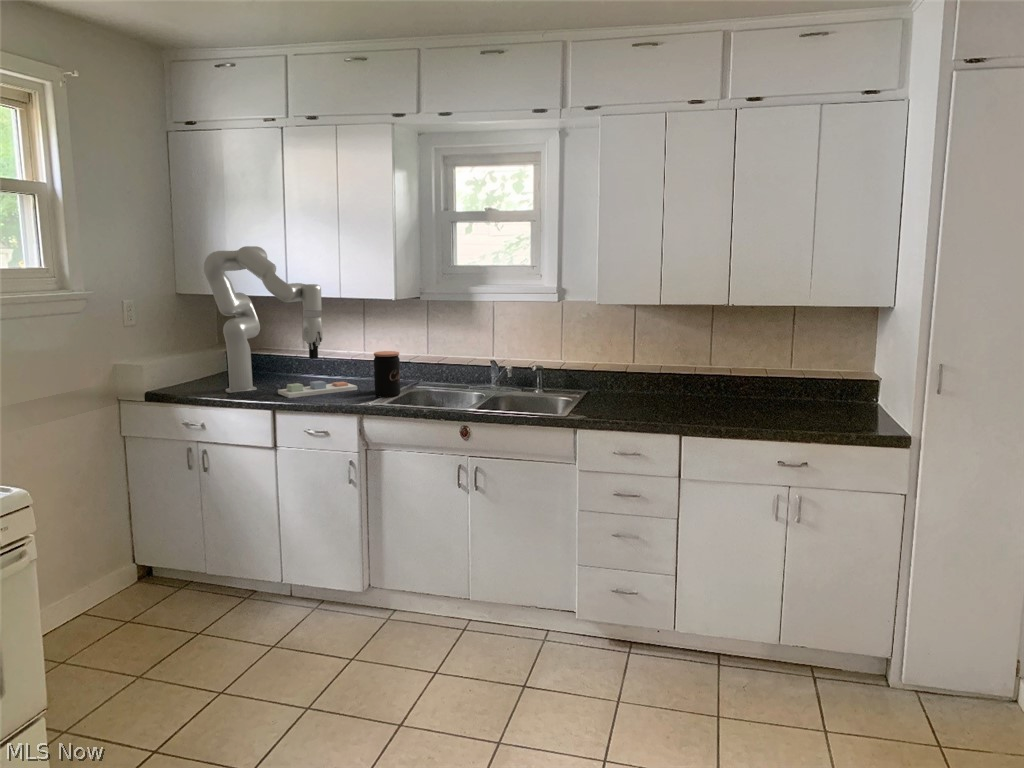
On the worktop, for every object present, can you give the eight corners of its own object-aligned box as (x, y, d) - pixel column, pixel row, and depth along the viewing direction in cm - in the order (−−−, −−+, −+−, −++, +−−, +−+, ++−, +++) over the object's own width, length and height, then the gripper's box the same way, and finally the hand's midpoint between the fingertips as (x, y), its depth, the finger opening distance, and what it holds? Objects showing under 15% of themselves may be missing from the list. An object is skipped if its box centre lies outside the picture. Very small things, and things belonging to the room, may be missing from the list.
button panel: (278, 396, 315) (277, 389, 314) (345, 388, 333) (344, 382, 332) (289, 401, 306) (288, 394, 305) (357, 393, 324) (357, 386, 323)
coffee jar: (393, 398, 312) (391, 354, 309) (370, 396, 316) (368, 353, 313) (404, 393, 322) (403, 351, 319) (382, 392, 326) (381, 350, 322)
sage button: (287, 393, 313) (286, 384, 313) (298, 392, 316) (298, 383, 316) (291, 395, 310) (291, 386, 309) (303, 394, 313) (303, 384, 312)
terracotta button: (332, 391, 326) (332, 382, 325) (343, 390, 329) (343, 381, 328) (337, 393, 322) (337, 384, 321) (348, 392, 325) (348, 383, 324)
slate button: (310, 391, 319) (309, 381, 319) (321, 389, 322) (321, 380, 322) (315, 393, 316) (314, 383, 315) (326, 391, 319) (325, 382, 318)
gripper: (296, 313, 316) (297, 357, 319) (311, 316, 305) (313, 361, 308) (313, 312, 321) (314, 355, 324) (329, 315, 309) (330, 360, 313)
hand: (313, 358), depth 316 cm, fingers closed
